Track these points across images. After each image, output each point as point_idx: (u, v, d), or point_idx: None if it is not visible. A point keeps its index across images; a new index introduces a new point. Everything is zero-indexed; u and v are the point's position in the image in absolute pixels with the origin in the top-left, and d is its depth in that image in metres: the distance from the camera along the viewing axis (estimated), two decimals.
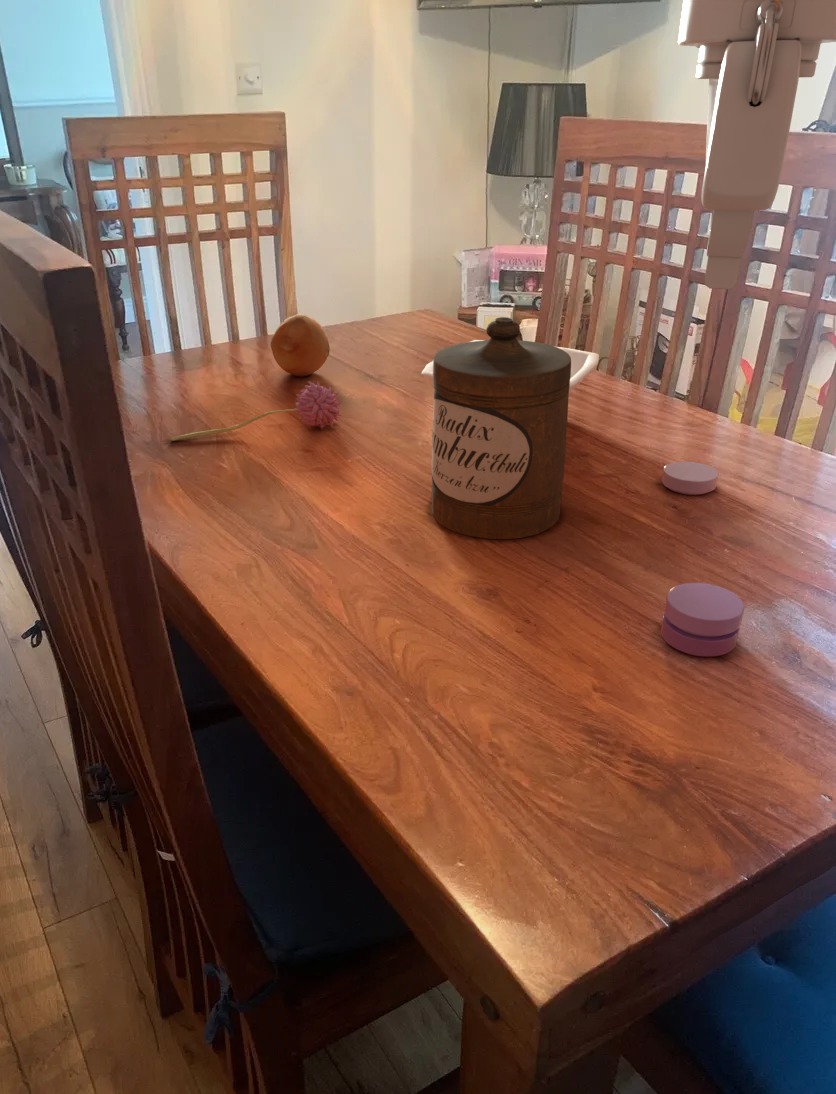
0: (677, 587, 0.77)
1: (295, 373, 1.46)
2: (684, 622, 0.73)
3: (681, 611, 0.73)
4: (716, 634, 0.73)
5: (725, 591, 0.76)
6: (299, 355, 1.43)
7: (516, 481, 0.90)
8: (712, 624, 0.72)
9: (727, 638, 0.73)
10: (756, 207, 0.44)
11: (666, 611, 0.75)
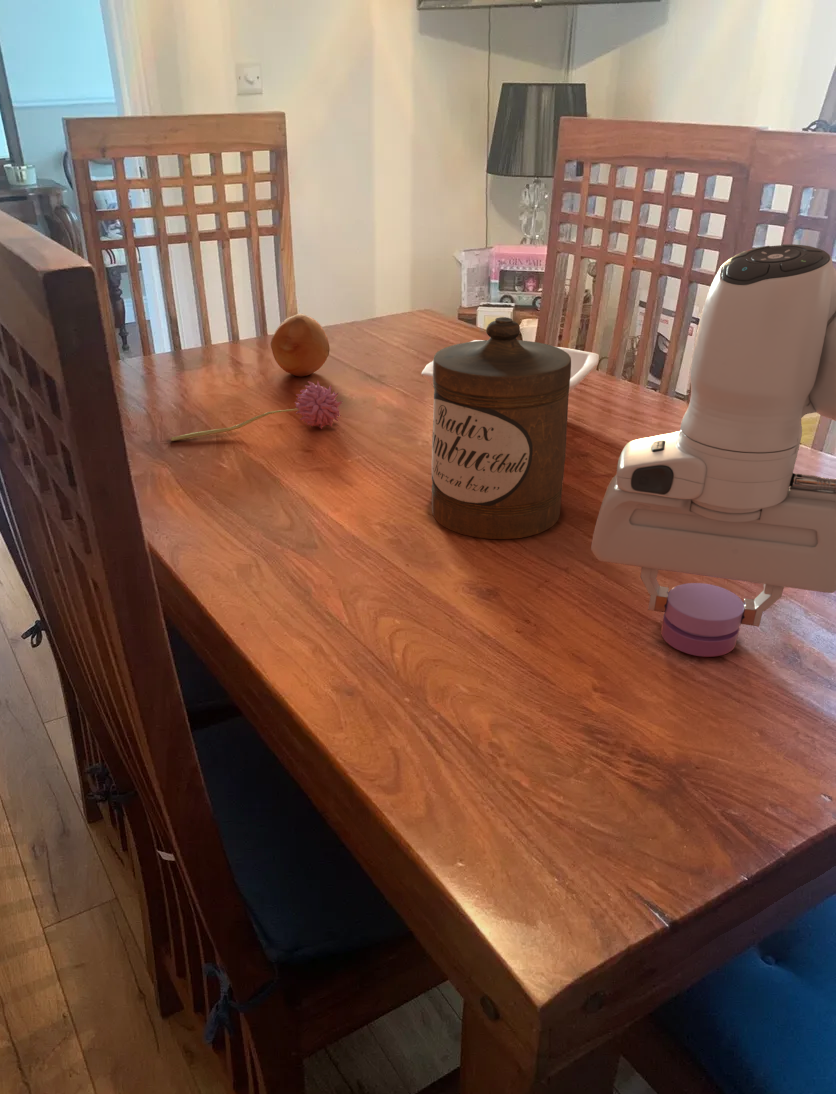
0: (677, 587, 0.77)
1: (295, 373, 1.46)
2: (684, 622, 0.73)
3: (682, 611, 0.73)
4: (716, 634, 0.73)
5: (725, 591, 0.76)
6: (299, 355, 1.43)
7: (516, 481, 0.90)
8: (712, 624, 0.72)
9: (727, 638, 0.73)
10: None
11: (666, 611, 0.75)
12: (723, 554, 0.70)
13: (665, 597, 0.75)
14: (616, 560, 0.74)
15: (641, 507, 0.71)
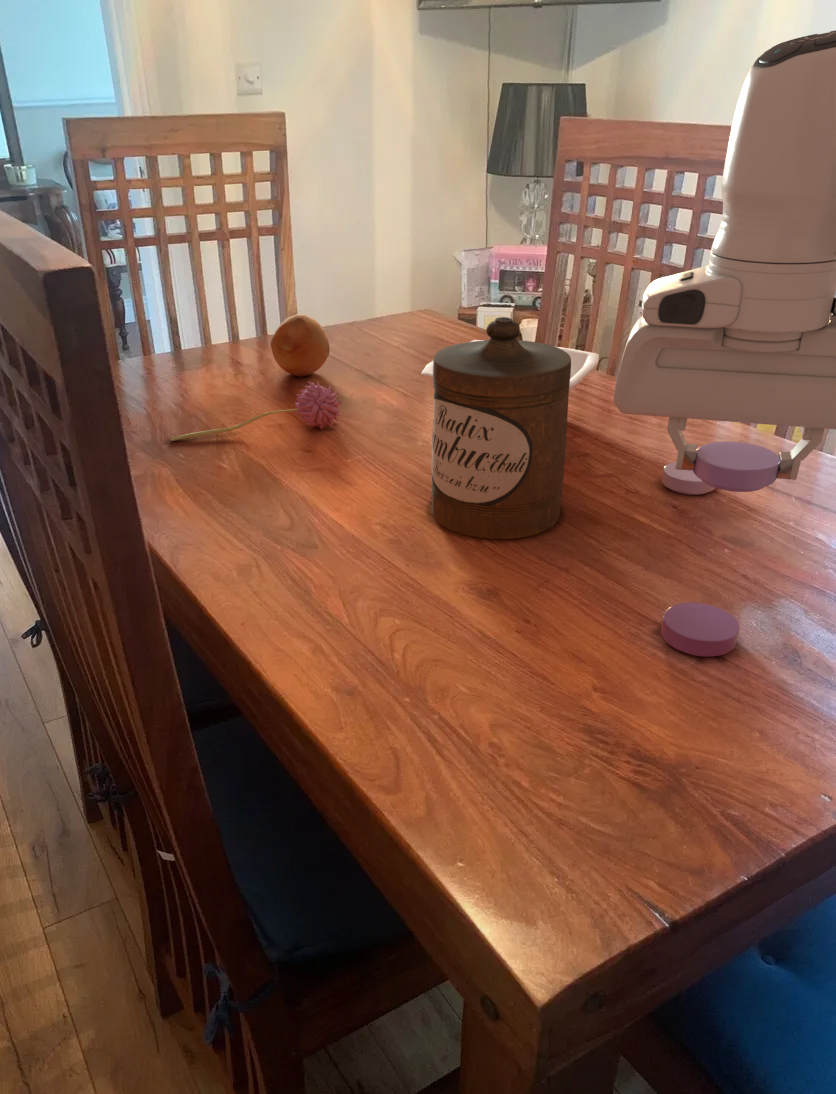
0: (706, 445, 0.71)
1: (295, 373, 1.46)
2: (716, 476, 0.68)
3: (713, 464, 0.68)
4: (751, 487, 0.67)
5: (758, 447, 0.71)
6: (299, 355, 1.43)
7: (516, 481, 0.90)
8: (747, 475, 0.67)
9: (727, 638, 0.73)
10: None
11: (695, 468, 0.70)
12: (758, 394, 0.65)
13: (694, 452, 0.70)
14: (641, 410, 0.68)
15: (669, 345, 0.65)
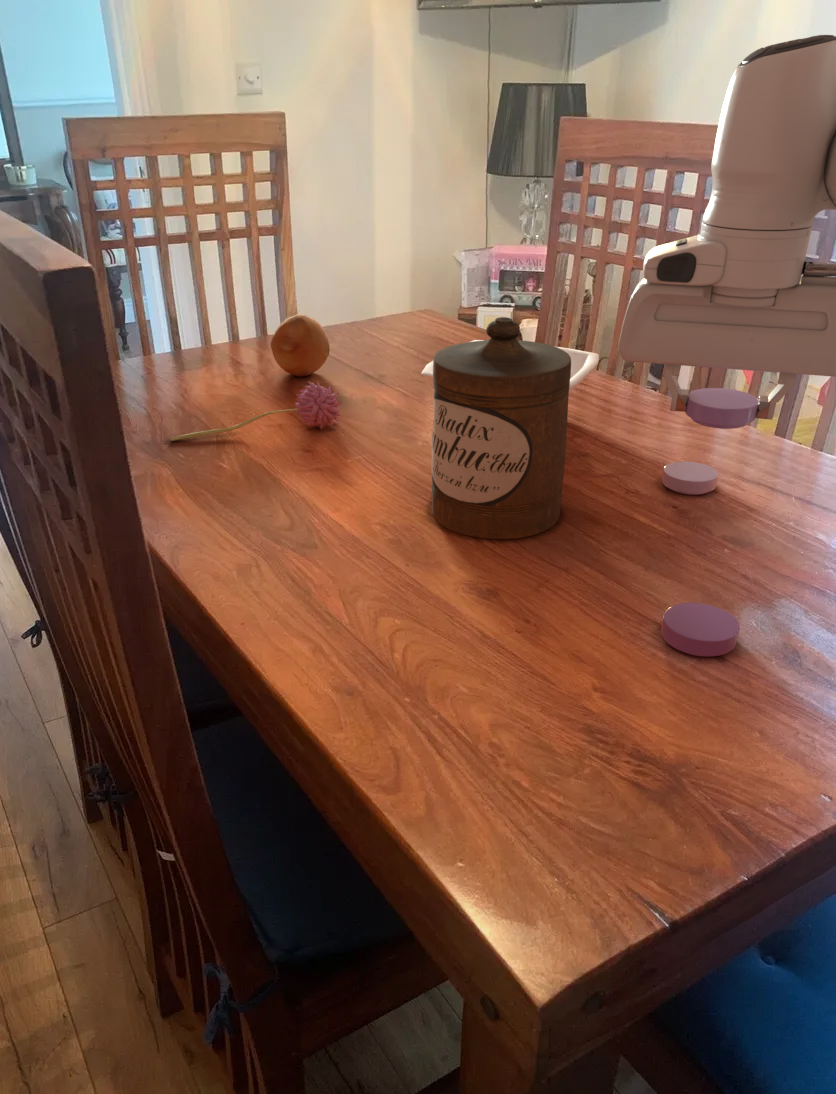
0: (697, 390, 0.83)
1: (295, 373, 1.46)
2: (704, 414, 0.80)
3: (702, 404, 0.80)
4: (733, 424, 0.79)
5: (741, 392, 0.82)
6: (299, 355, 1.43)
7: (516, 481, 0.90)
8: (730, 413, 0.79)
9: (727, 638, 0.73)
10: None
11: (687, 409, 0.82)
12: (740, 344, 0.77)
13: (686, 395, 0.81)
14: (641, 358, 0.80)
15: (665, 301, 0.77)
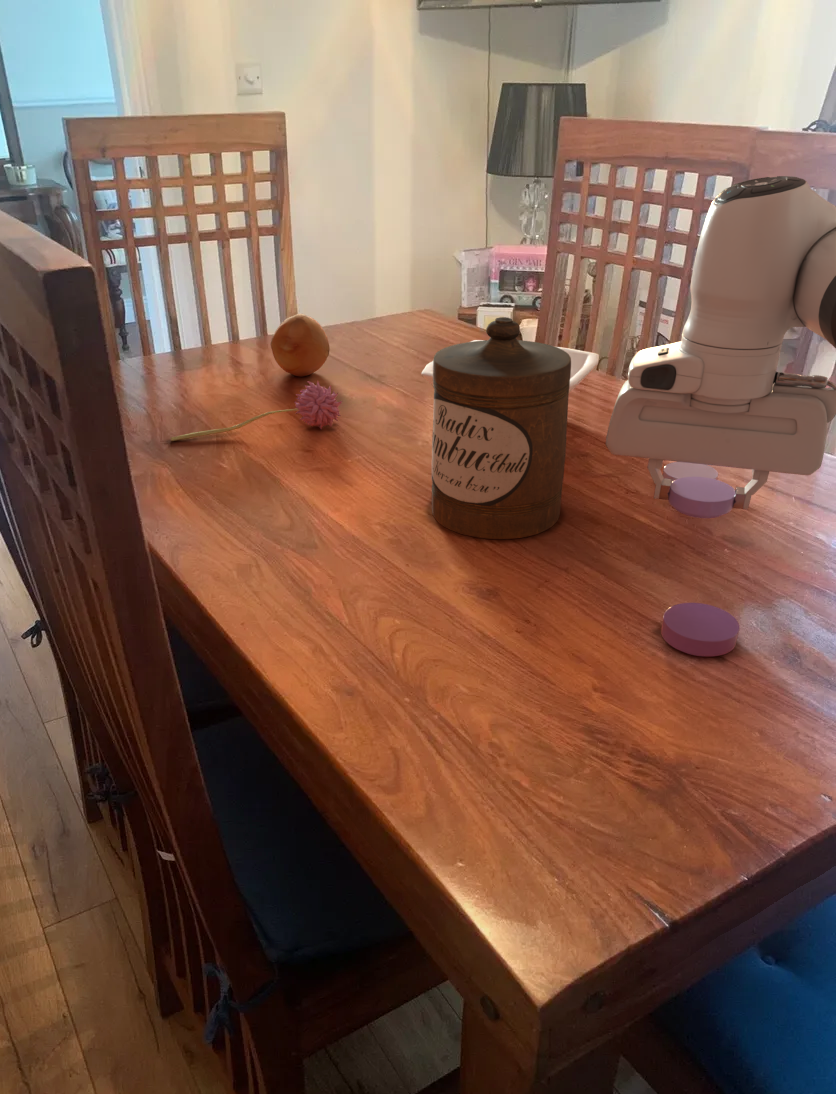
0: (679, 479, 0.90)
1: (295, 373, 1.46)
2: (684, 505, 0.86)
3: (682, 495, 0.86)
4: (712, 514, 0.86)
5: (720, 482, 0.89)
6: (299, 355, 1.43)
7: (516, 481, 0.90)
8: (708, 505, 0.85)
9: (727, 638, 0.73)
10: None
11: (669, 498, 0.88)
12: (717, 443, 0.83)
13: (668, 486, 0.88)
14: (627, 453, 0.87)
15: (649, 404, 0.84)
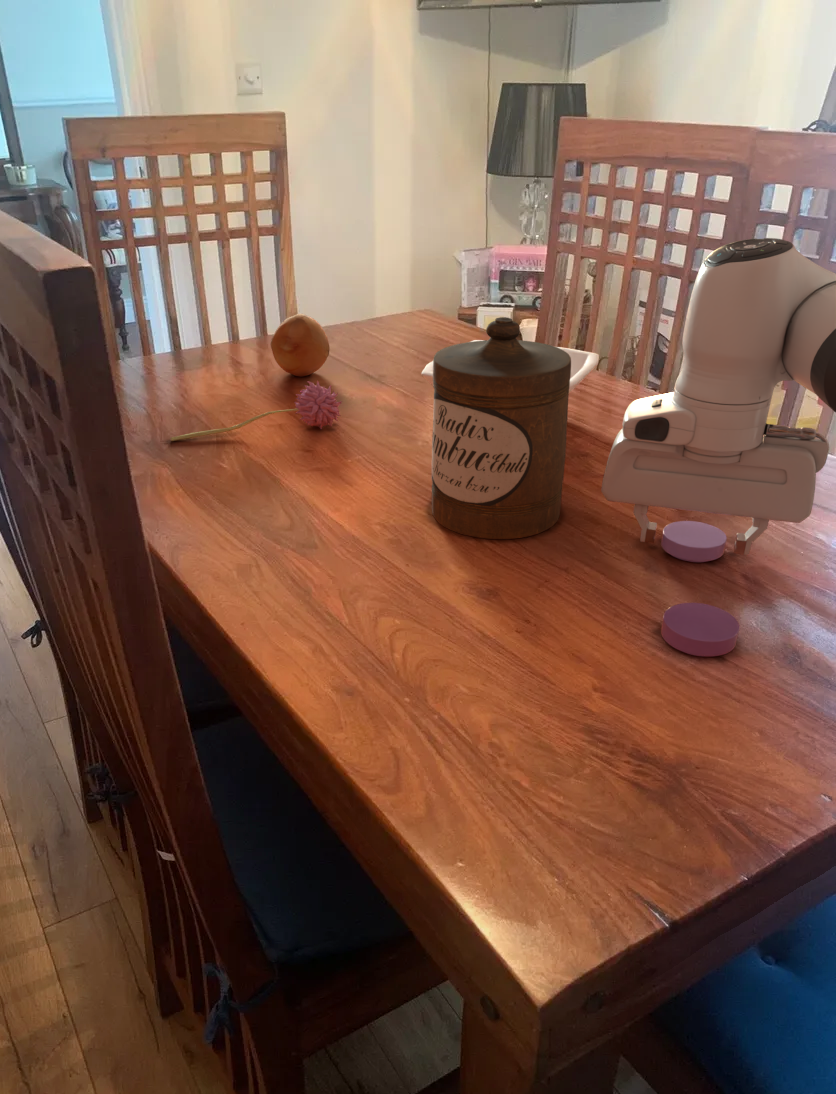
0: (671, 524, 0.92)
1: (295, 373, 1.46)
2: (677, 550, 0.89)
3: (675, 541, 0.89)
4: (703, 560, 0.88)
5: (711, 527, 0.92)
6: (299, 355, 1.43)
7: (516, 481, 0.90)
8: (700, 551, 0.88)
9: (727, 638, 0.73)
10: None
11: (662, 543, 0.91)
12: (710, 492, 0.86)
13: (654, 530, 0.91)
14: (622, 499, 0.89)
15: (643, 454, 0.86)
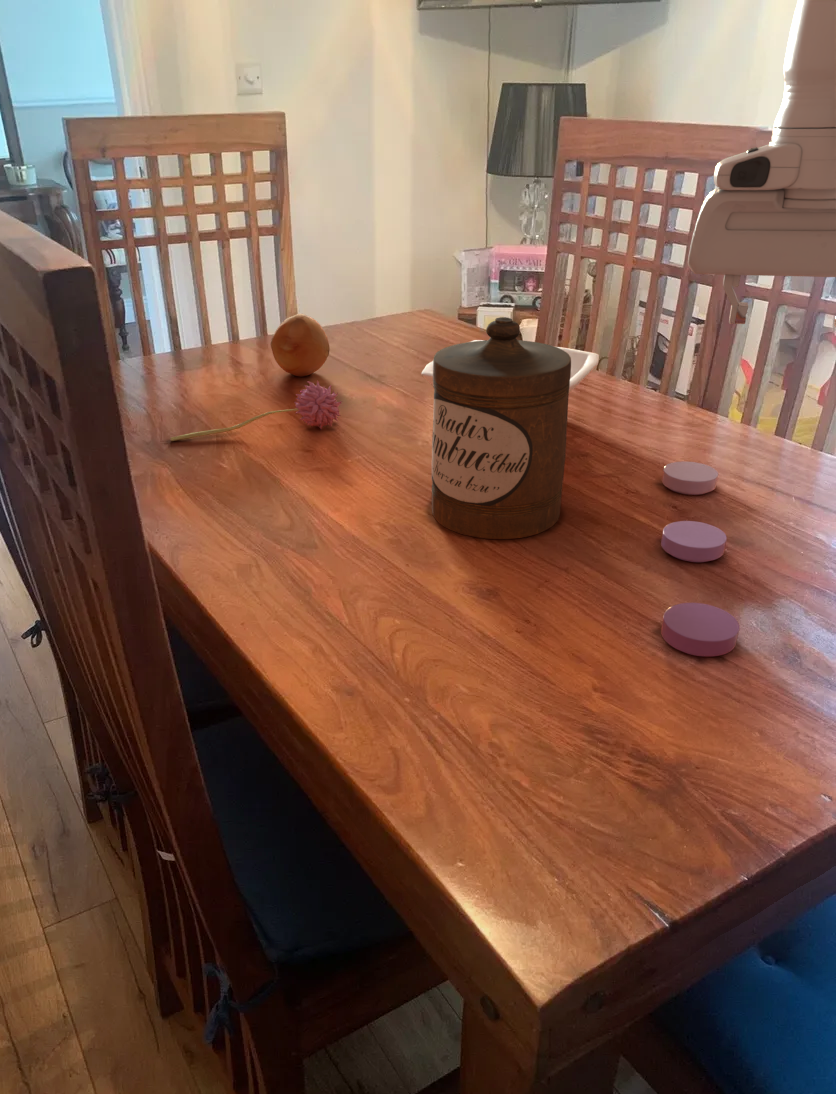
0: (671, 524, 0.92)
1: (295, 373, 1.46)
2: (677, 550, 0.89)
3: (675, 541, 0.89)
4: (703, 560, 0.88)
5: (711, 527, 0.92)
6: (299, 355, 1.43)
7: (516, 481, 0.90)
8: (700, 551, 0.88)
9: (727, 638, 0.73)
10: None
11: (662, 543, 0.91)
12: (812, 249, 0.78)
13: (746, 306, 0.83)
14: (712, 270, 0.81)
15: (737, 210, 0.78)
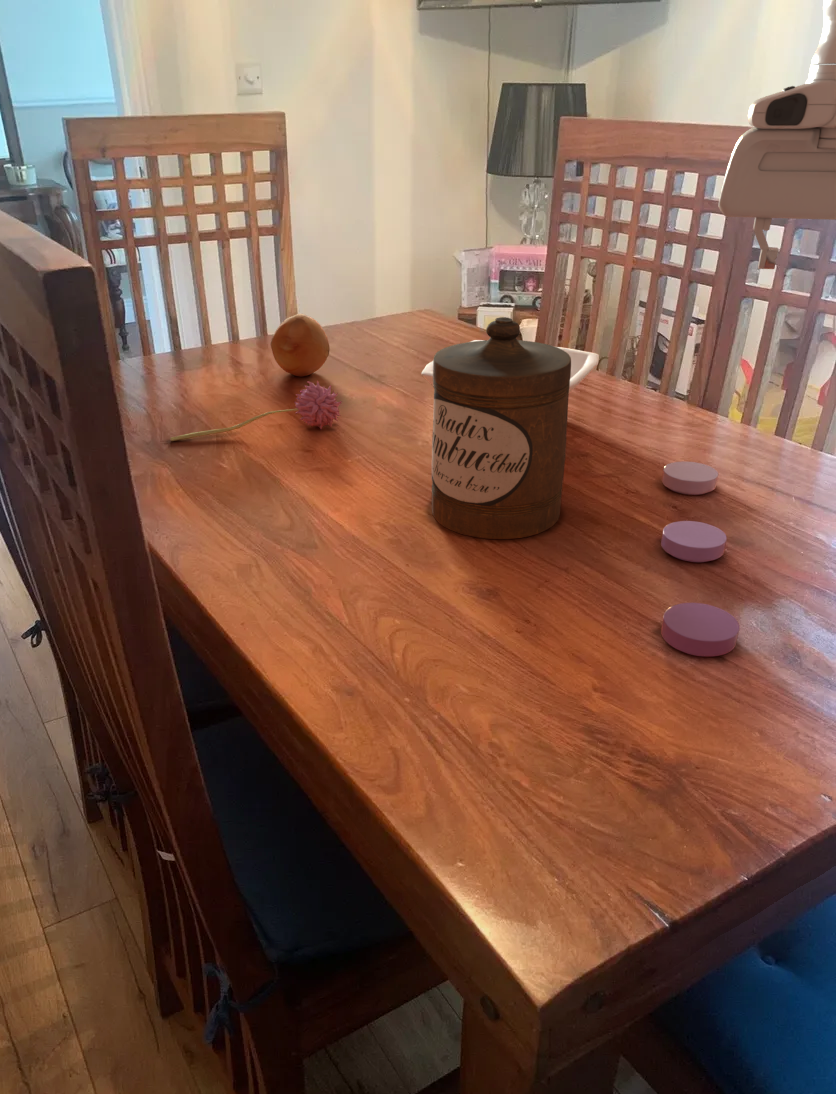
0: (671, 524, 0.92)
1: (295, 373, 1.46)
2: (677, 550, 0.89)
3: (675, 541, 0.89)
4: (703, 560, 0.88)
5: (711, 527, 0.92)
6: (299, 355, 1.43)
7: (516, 481, 0.90)
8: (700, 551, 0.88)
9: (727, 638, 0.73)
10: None
11: (662, 543, 0.91)
12: None
13: (776, 251, 0.82)
14: (743, 212, 0.80)
15: (771, 150, 0.77)
